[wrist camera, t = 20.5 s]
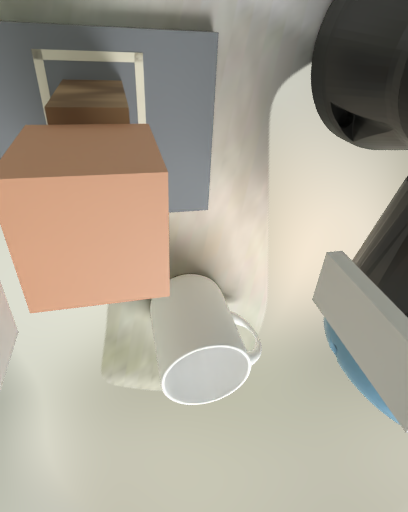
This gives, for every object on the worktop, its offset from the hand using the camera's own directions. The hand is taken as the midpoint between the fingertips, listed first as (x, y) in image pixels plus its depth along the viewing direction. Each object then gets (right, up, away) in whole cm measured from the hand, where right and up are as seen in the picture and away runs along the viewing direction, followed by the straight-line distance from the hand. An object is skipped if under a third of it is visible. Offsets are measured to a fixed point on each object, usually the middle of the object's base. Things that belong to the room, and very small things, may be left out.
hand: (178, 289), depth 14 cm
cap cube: (-5, +6, +5) cm, 9 cm away
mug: (0, -4, +27) cm, 27 cm away
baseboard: (-7, +11, +13) cm, 19 cm away
